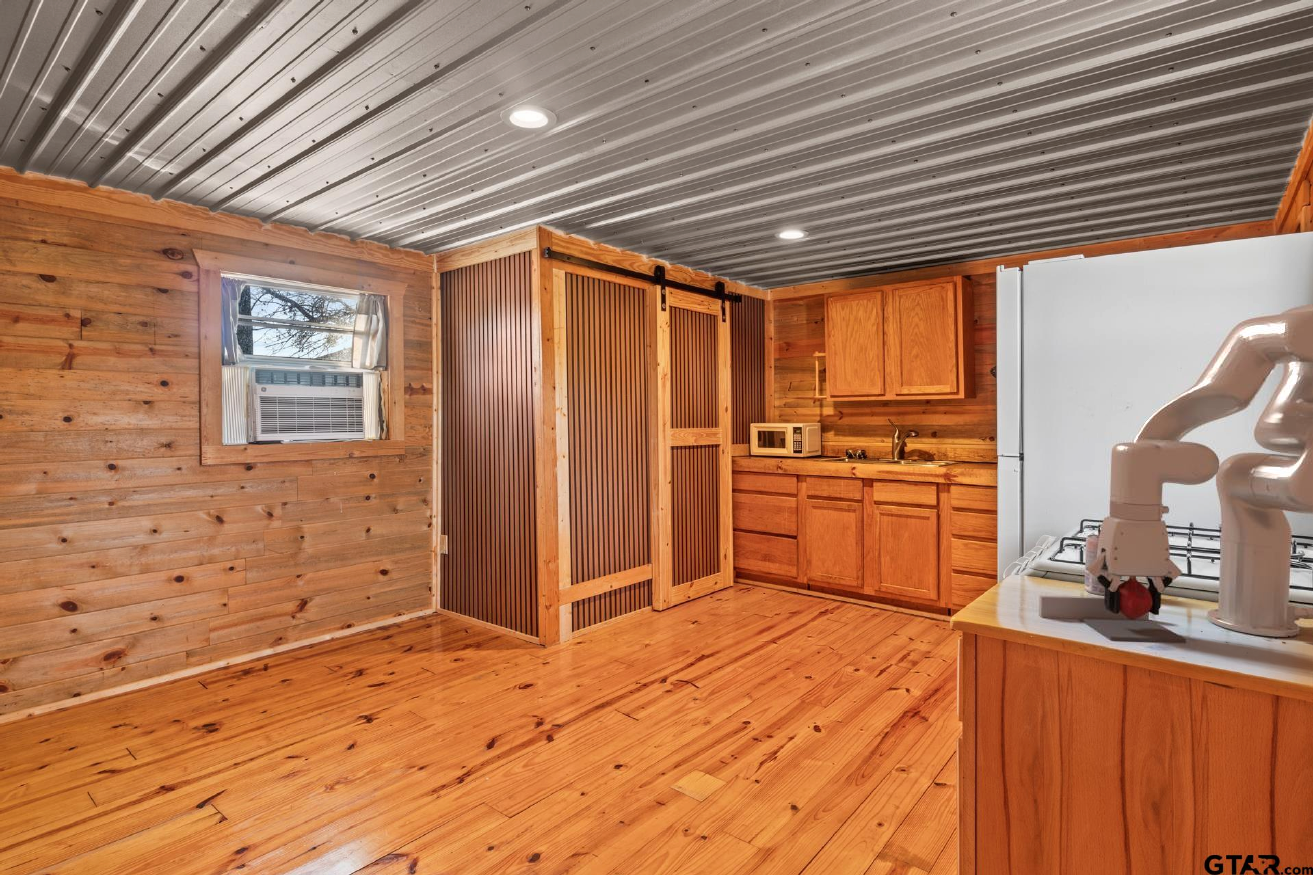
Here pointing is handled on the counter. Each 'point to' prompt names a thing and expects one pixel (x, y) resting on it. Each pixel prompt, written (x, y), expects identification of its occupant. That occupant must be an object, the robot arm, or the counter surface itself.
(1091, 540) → the energy drink
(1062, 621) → the counter surface
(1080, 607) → the low wall
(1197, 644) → the counter surface
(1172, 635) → the rubber mat
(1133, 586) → the onion
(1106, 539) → the robot arm
